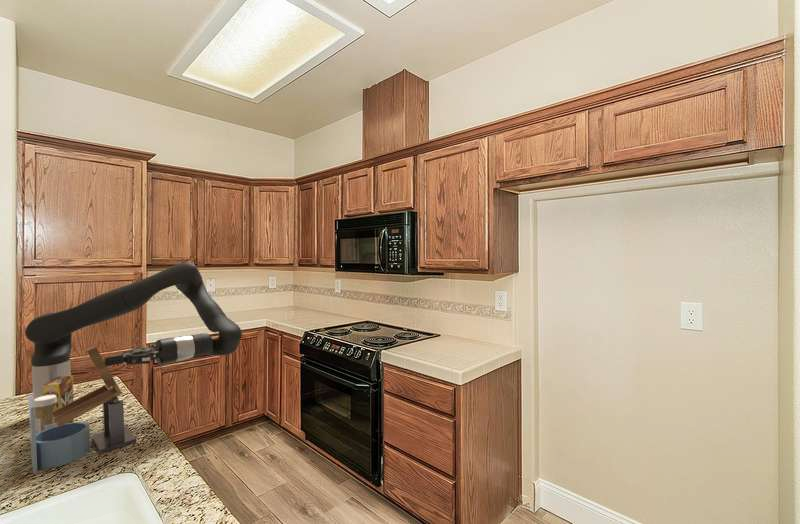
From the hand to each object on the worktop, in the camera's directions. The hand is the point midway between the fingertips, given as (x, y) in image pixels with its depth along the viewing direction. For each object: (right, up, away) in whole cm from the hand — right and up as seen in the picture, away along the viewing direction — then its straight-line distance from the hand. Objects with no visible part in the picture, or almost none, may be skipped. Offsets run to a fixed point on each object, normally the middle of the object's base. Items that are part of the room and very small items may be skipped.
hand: (105, 361), depth 104 cm
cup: (-6, -23, -6) cm, 25 cm away
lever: (-2, -13, -2) cm, 13 cm away
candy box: (-20, -23, +8) cm, 32 cm away
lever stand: (+1, -23, +2) cm, 23 cm away
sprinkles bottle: (-15, -23, -1) cm, 28 cm away
